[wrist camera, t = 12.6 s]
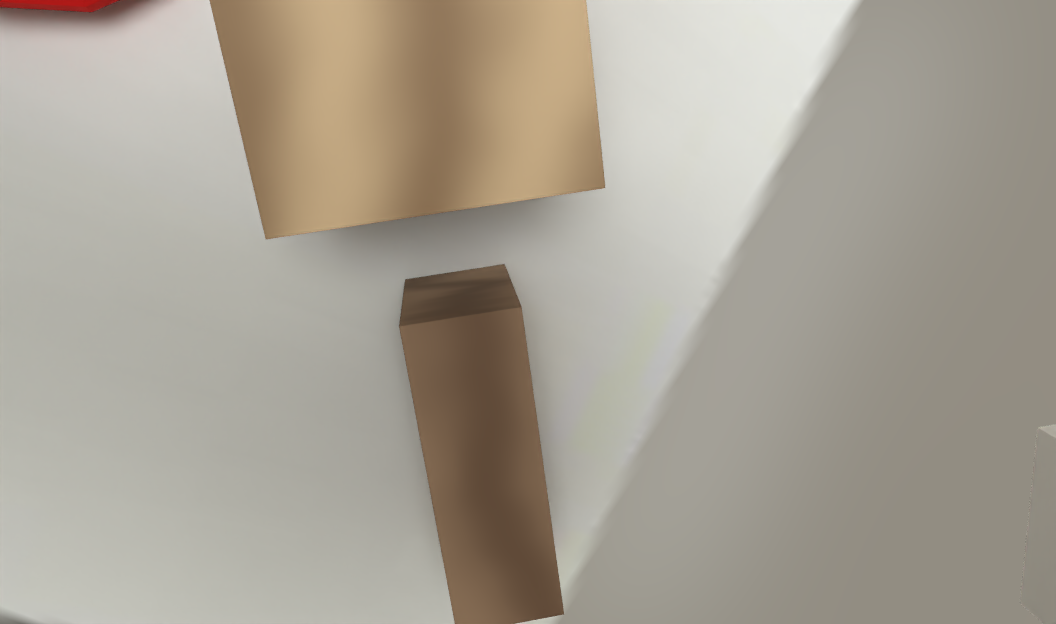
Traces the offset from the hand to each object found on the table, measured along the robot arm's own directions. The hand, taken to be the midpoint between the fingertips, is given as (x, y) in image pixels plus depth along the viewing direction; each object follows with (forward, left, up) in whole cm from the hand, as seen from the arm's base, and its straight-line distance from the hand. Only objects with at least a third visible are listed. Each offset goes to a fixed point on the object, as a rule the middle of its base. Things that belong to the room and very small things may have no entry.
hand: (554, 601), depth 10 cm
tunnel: (-1, +6, -30) cm, 31 cm away
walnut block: (-1, -10, -30) cm, 32 cm away
